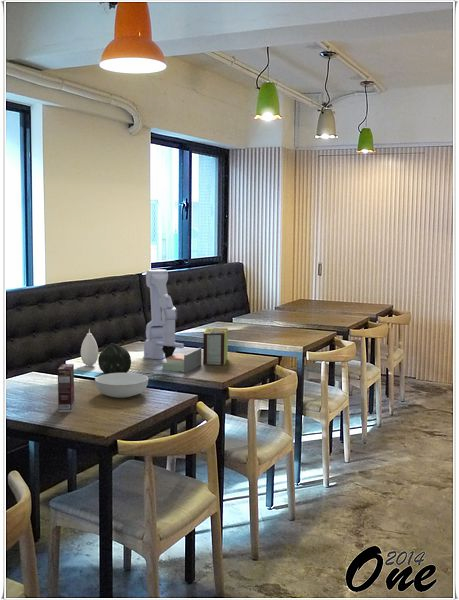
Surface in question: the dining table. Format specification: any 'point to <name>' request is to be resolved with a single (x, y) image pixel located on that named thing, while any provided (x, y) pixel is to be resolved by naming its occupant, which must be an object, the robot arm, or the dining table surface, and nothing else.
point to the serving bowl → (121, 384)
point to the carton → (176, 359)
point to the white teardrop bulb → (89, 350)
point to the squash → (114, 359)
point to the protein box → (215, 346)
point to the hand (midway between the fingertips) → (168, 361)
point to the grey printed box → (186, 362)
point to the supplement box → (66, 388)
